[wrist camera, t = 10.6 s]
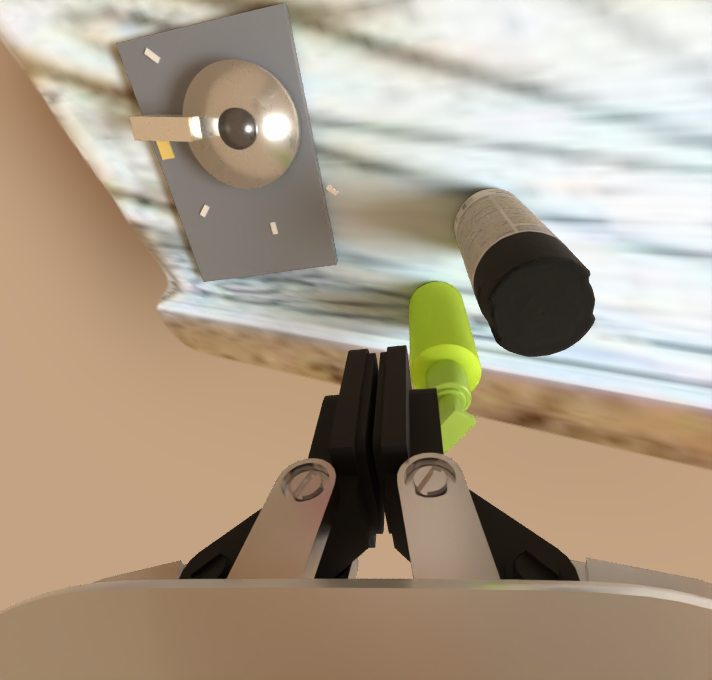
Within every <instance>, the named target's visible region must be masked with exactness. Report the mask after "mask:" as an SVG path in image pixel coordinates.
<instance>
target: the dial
mask: <svg viewBox="0 0 712 680" xmlns="http://www.w3.org/2000/svg"><path fill="white" fill-rule="evenodd" d="M129 117H130V121H131V126H132V130H133V134H134V139H135V140H139V141H183V142H188V144H189V146H190V148H191V150H192V152H193V154H194V156H195V157H196V159H197V160H198V161H199V163H200V164H201V165H202V166H203V168H204V169H205V170H206V171H207V172H208V173H210V174H211V175H212V176H213V177H215V178H216V179H218V180H219V181H221V182H223V183H225V184H227V185H230V186H232V187H236V188H242V189H254V188H260V187H263V186H266V185H268V184H270V183H272V182H273V181H275V180H276V179H278V178H279V177H280V176H282V175H283V174H284V173H285V172H286V171H287V170H288V169H289V168H290V167H291V165H292V164H293V162H294V160H295V159H296V156H297V154H298V151H299V147H300V143H301V132H302V128H301V119H300V114H299V110H298V108H297V105H296V102H295V100H294V98H293V96H292V94H291V93H290V91H289V89H288V88H287V87H286V85H285V84H284V83H283V82H282V81H281V80H280V79H279V78H278V77H277V76H276V75H275V74H274V73H273V72H271V71H270V70H268V69H267V68H265V67H263V66H261V65H258V64H256V63H252V62H248V61H243V60H235V59H228V60H221V61H217V62H214V63H212V64H210V65H208V66H207V67H205V68H203V69H202V70H201V71H200V72H199V73H198V74H197V75H196V76H195V78H194V79H193V80H192V82H191V84H190V85H189V87H188V90H187V92H186V95H185V99H184V104H183V114H148V115H139V116H129Z"/></svg>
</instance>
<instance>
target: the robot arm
mask: <svg viewBox="0 0 712 680" xmlns="http://www.w3.org/2000/svg"><path fill="white" fill-rule="evenodd" d="M384 512H385V515H386V521H387V525H388V531H389V533H391V534H392V536H393V541H394V546H395V548H396V549H397V550H398V551H399V552H400V553H401V554H402V555H403V556H404V557H405V558H406V559H407V560H409V561H410V562H411V567H412V573H413V579H356V575H357V571H358V557H359V556H360V555H361V554H362V553H363V552H364V551H365V550H366V549H368V548H375V542H376V534H383V531H384ZM0 680H712V584H710V583H708V582H704V581H702V580H698V579H694V578H689V577H684V576H679V575H673V574H668V573H663V572H658V571H653V570H648V569H642V568H637V567H632V566H627V565H622V564H617V563H612V562H606V561H601V560H596V559H591V558H587V559H586V563H584V562H579V561H574V560H569V558H568V557H567V556H566V555H565V554H563V553H562V552H561V551H560V550H559V549H557V548H556V547H554V546H553V545H551V544H550V543H548V542H547V541H545V540H544V539H542V538H541V537H539V536H538V535H536V534H535V533H534V532H532V531H531V530H529V529H528V528H526V527H525V526H523V525H522V524H520V523H519V522H517V521H516V520H514V519H513V518H511V517H510V516H508V515H506V514H505V513H503V512H502V511H501V510H499V509H498V508H496V507H494V506H493V505H491V504H490V503H489V502H487V501H485V500H484V499H483V498H481V497H480V496H478V495H477V494H475V493H474V492H472V491H471V490H469V489H468V486H467V483H466V480H465V478H464V475H463V472H462V470H461V468H460V467H459V465H458V464H457V463H456V462H455V461H454V460H453V459H452V458H449V457H447V456H445V455H444V453H443V443H442V434H441V425H440V415H439V406H438V396H437V388H427V389H413V390H412V386H411V378H410V370H409V362H408V353H407V347H406V345H404V346H393V347H387V352H381V353H380V363H379V370H378V364H377V358H376V354H375V353H370V354H369V351H368V349H360V350H350V351H349V352H348V356H347V361H346V365H345V370H344V375H343V379H342V384H341V389H340V393H339V395H331V396H325V398H324V400H323V403H322V407H321V411H320V415H319V419H318V422H317V426H316V430H315V434H314V438H313V441H312V445H311V450H310V453H309V457H308V459H304V460H300V461H297V462H295V463H293V464H291V465H289V466H288V467H287V468H286V469H285V470H283V471H282V473H281V474H280V475H279V477H278V478H277V480H276V482H275V484H274V486H273V488H272V490H271V492H270V494H269V496H268V498H267V500H266V502H265V504H264V506H263V508H261V509H260V510H259V511H257V512H256V513H254V514H253V515H252V516H250V517H249V518H247V519H246V520H245V521H243V522H242V523H240V524H239V525H237V526H236V527H235V528H233V529H232V530H230V531H229V532H227V533H226V534H225V535H223V536H222V537H221V538H219V539H218V540H216V541H215V542H213V543H212V544H210V545H209V546H208V547H206V548H205V549H203V550H202V551H201V552H199V553H198V554H197V555H196V556H195V557H193V558H192V559H191V560H190V561H189V563H188V564H185V565H183V563H182V561H181V560H180V561H176V562H172V563H168V564H163V565H159V566H155V567H151V568H147V569H143V570H138V571H134V572H130V573H125V574H121V575H117V576H113V577H109V578H104V579H101V580H99V581H96V582H94V583H91V584H85V585H79V586H73V587H68V588H64V589H60V590H56V591H52V592H48V593H45V594H42V595H39V596H36V597H33V598H30V599H28V600H25V601H23V602H20V603H17V604H15V605H13V606H11V607H8V608H7V609H4V610H2V611H0Z"/></svg>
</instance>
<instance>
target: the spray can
mask: <svg viewBox="0 0 712 680" xmlns="http://www.w3.org/2000/svg"><path fill="white" fill-rule="evenodd" d="M454 230H455V236H456V239H457V242H458V245H459V248H460V251H461V254H462V257H463V260H464V264H465V267H466V270H467V272H468V276H469V279H470V282H471V285H472V288H473V291H474V294H475V296H476V299H477V301H478V304H479V307H480V310H481V312H482V314H483V315H484V317H485V318H486V320H487V321H488V323H489V326H490V328H491V331H492V333H493V336H494V338H495V341H496V342H497V343H498V344H499V345H500V346H502V347H503V348H504V349H506V350H508V351H510V352H513V353H516V354H519V355H523V356H528V357H537V356H546V355H551V354H554V353H557V352H560V351H563V350H565V349H567V348H569V347H571V346H572V345H573V344H575V343H576V342H578V341H579V340H580V339H581V338H582V337H583V336H584V335H585V334H586V333H587V332H588V331H589V329H590V328H591V327H592V325H593V324H594V321H595V317H594V315H593V309H594V305H595V297H594V293H593V289H592V287H591V285H590V283H589V276H590V271H589V270H588V269H587V268H586V267H585V266H584V265H583V264H582V263H581V262H580V261H579V260H578V258H577V257H576V256H575V255H574V254H573V253H572V252H571V251H570V250H569V249H568V248H567V247H566V246H565V245H564V244H563V243H562V242H561V241H560V240H559V239H558V238H557V237H556V236H555V235H554V234H553V233H552V232H551V231H550V230H549V229H548V228H547V227H546V226H545V225H544V224H543V223H542V222H541V221H540V220H539V219H538V218H537V217H536V216H535V215H534V214H533V213H532V212H531V211H530V210H529V209H528V208H527V207H526V206H524V205H523V204H522V203H521V202H520V200H518V199H517V198H516V197H515V196H514V195H513V194H511V193H509V192H508V191H505V190H501V189H486V190H482V191H479V192H477V193H475V194H473V195H472V196H470V197H469V198H468V199H467V200H466V201H465V202H464V203H463V204H462V205H461V207H460V208H459V211H458V213H457V215H456V218H455V224H454Z"/></svg>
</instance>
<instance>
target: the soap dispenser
mask: <svg viewBox="0 0 712 680" xmlns="http://www.w3.org/2000/svg"><path fill="white" fill-rule="evenodd" d="M409 332H410V376H411V381H412V383H413V385H414V387H415V388H416V389H427V388H437V396H438V406H439V415H440V425H441V434H442V443H443V453H446V452H447V451H448V450H449V449H451V448H452V447H453V446H454V445H455V444H456V443H457V442H458V441H459V440H460V439H461V438H462V437H463V436H464V435H465V434H466V433H467V432H468V431H469V430H470V429H471V428H472V427H473V426H474V425H475V423H476V419H475V417H474V416H472V415H470V414H468V413H467V412H465V410H466V409H467V408H468V407H469V405H470V403H471V392H472V391H473V390H474V389H475V387H476V386H477V384H478V383H479V380H480V377H481V365H480V362H479V358H478V354H477V351H476V347H475V343H474V340H473V336H472V332H471V329H470V325H469V321H468V318H467V314H466V310H465V307H464V303H463V299H462V296H461V294H460V293H459V291H458V290H457V289H456V288H455V287H453V286H452V285H450V284H448V283H445V282H430V283H427V284H424V285H422V286H421V287H419V288H418V289H417V290H416V291H415V292H414V293H413V295H412V297H411V299H410V302H409Z"/></svg>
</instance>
